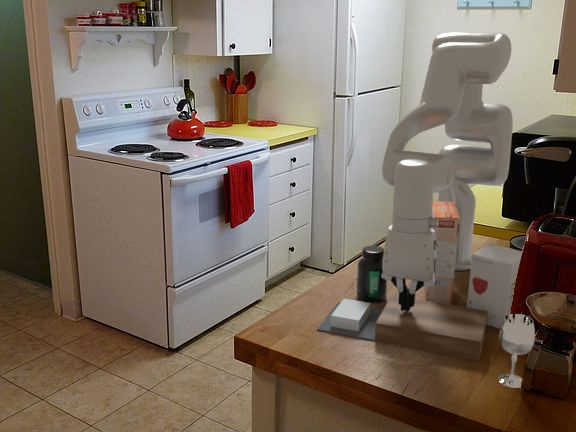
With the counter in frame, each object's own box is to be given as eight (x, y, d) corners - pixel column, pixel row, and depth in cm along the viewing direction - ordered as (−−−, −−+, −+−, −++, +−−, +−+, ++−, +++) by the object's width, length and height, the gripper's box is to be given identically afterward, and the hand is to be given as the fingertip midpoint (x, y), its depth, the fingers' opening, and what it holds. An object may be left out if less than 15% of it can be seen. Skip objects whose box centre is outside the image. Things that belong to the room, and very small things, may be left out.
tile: (370, 302, 132) (370, 313, 133) (343, 298, 134) (343, 308, 135) (359, 320, 124) (358, 331, 125) (331, 315, 126) (330, 326, 127)
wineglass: (489, 373, 110) (495, 312, 107) (519, 371, 111) (527, 311, 107) (502, 391, 105) (509, 327, 101) (534, 389, 105) (543, 326, 102)
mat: (337, 303, 139) (337, 302, 138) (390, 312, 134) (390, 311, 134) (317, 330, 126) (317, 328, 126) (373, 340, 122) (373, 339, 122)
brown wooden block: (390, 312, 134) (391, 295, 133) (485, 328, 127) (487, 311, 126) (374, 341, 122) (375, 322, 121) (479, 360, 114) (480, 341, 113)
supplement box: (464, 318, 132) (469, 252, 127) (482, 304, 138) (489, 242, 134) (504, 331, 126) (512, 263, 121) (522, 317, 132) (530, 252, 128)
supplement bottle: (378, 306, 137) (381, 256, 134) (351, 299, 141) (353, 250, 137) (390, 295, 143) (393, 247, 139) (364, 289, 146) (366, 242, 143)
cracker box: (452, 307, 136) (460, 218, 130) (425, 305, 138) (431, 216, 132) (449, 283, 150) (456, 201, 144) (424, 281, 151) (430, 199, 145)
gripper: (453, 222, 120) (446, 307, 125) (379, 213, 126) (375, 295, 131) (447, 233, 113) (440, 323, 119) (369, 223, 119) (365, 309, 124)
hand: (406, 308), depth 125 cm, fingers closed
